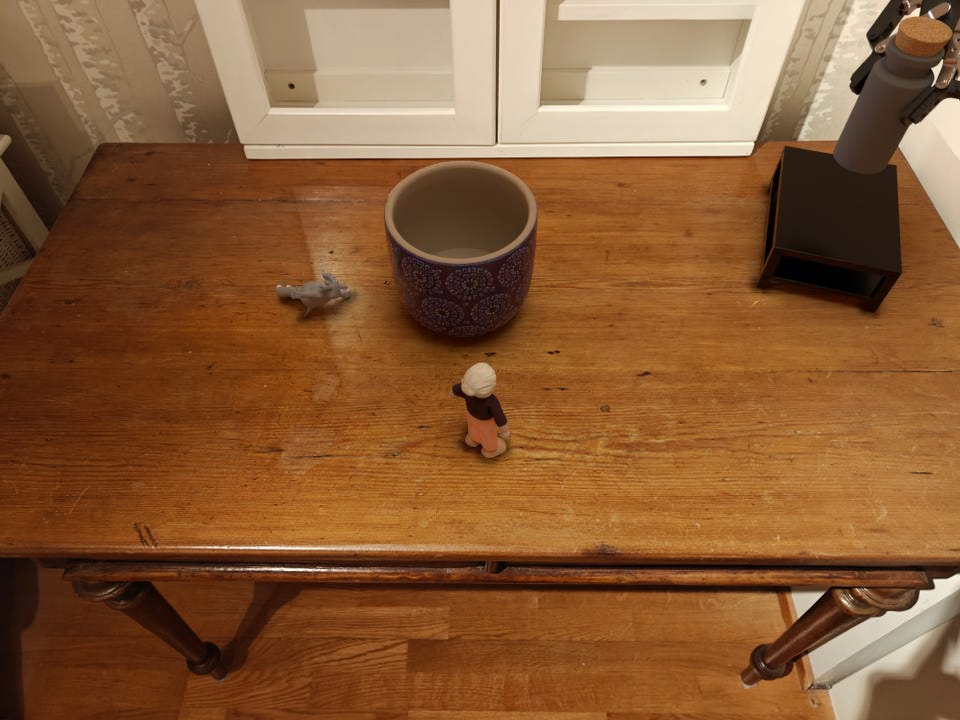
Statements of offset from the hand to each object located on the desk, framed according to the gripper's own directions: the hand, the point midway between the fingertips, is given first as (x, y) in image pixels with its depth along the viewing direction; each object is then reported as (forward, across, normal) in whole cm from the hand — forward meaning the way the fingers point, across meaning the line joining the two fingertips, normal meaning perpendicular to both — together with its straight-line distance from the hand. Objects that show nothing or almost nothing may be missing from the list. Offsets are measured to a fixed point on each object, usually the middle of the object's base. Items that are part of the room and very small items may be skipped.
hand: (878, 105), depth 72 cm
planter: (+45, -16, -13) cm, 49 cm away
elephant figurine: (+56, -24, -25) cm, 66 cm away
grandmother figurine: (+50, +2, -19) cm, 54 cm away
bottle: (+4, 0, +6) cm, 8 cm away
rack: (+13, -1, +18) cm, 22 cm away
